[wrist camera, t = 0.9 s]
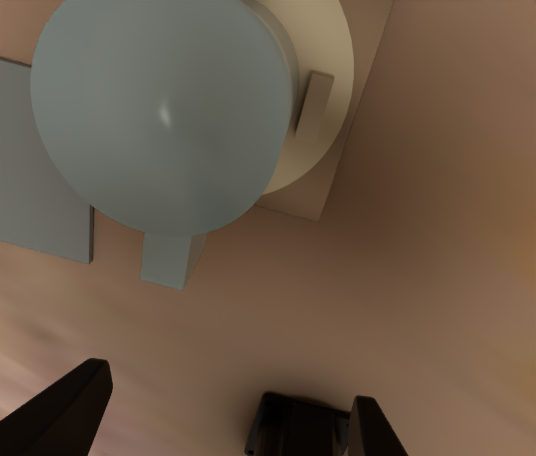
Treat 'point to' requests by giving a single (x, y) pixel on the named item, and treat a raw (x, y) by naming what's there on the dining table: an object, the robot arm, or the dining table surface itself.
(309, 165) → the turntable
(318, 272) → the dining table surface
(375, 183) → the dining table surface
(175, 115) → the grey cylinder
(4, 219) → the mat
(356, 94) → the turntable base
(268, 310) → the dining table surface
